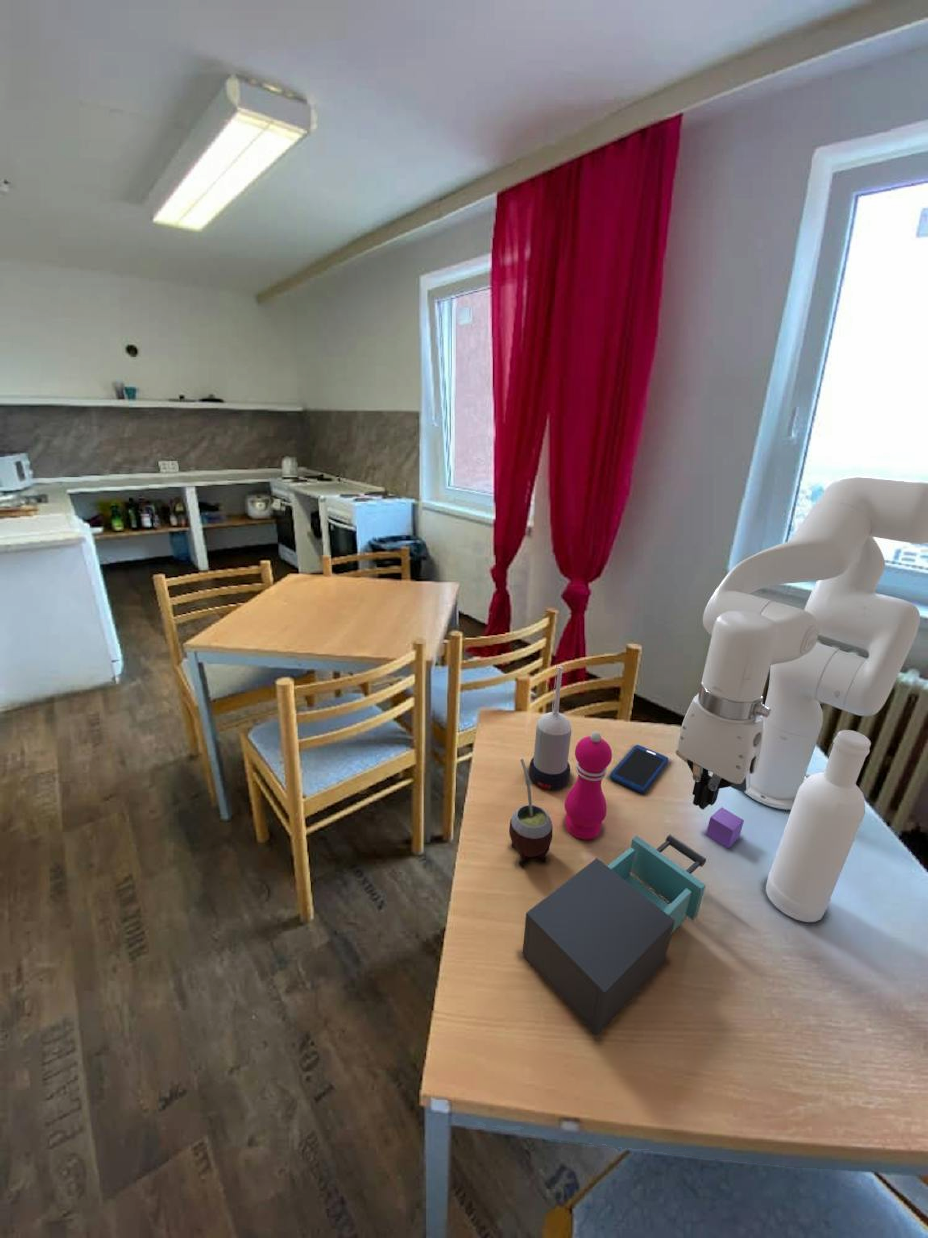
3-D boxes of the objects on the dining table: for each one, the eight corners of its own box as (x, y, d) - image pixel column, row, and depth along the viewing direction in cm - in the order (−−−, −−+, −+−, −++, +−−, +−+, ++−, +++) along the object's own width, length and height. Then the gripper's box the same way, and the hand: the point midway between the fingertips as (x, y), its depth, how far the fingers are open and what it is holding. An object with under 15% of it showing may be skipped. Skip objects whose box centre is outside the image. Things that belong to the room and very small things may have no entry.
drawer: (650, 848, 87) (657, 819, 85) (716, 895, 79) (725, 864, 77) (575, 911, 76) (580, 879, 74) (643, 973, 68) (651, 940, 65)
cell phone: (669, 760, 110) (669, 757, 110) (643, 795, 100) (643, 791, 100) (636, 746, 114) (636, 743, 114) (608, 778, 104) (608, 775, 104)
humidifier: (537, 793, 100) (548, 679, 90) (523, 766, 107) (531, 658, 98) (576, 787, 102) (590, 675, 92) (559, 761, 109) (571, 655, 100)
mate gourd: (539, 877, 82) (547, 803, 77) (495, 855, 86) (500, 783, 80) (557, 846, 88) (566, 775, 82) (515, 827, 92) (521, 758, 86)
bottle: (816, 886, 82) (879, 726, 70) (831, 931, 75) (903, 761, 63) (760, 872, 84) (812, 715, 73) (769, 913, 77) (828, 747, 66)
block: (717, 824, 94) (721, 807, 92) (739, 837, 91) (744, 820, 89) (705, 834, 91) (710, 817, 90) (728, 848, 89) (733, 831, 87)
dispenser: (590, 897, 79) (596, 857, 76) (664, 962, 70) (675, 920, 67) (522, 954, 71) (526, 912, 68) (596, 1036, 62) (605, 993, 59)
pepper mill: (604, 845, 89) (620, 749, 81) (561, 838, 90) (573, 742, 82) (602, 815, 95) (617, 723, 87) (562, 809, 96) (574, 717, 89)
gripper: (798, 714, 68) (764, 820, 76) (692, 670, 79) (671, 767, 86) (773, 735, 64) (740, 846, 71) (664, 686, 75) (645, 786, 82)
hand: (702, 802), depth 79 cm, fingers closed
